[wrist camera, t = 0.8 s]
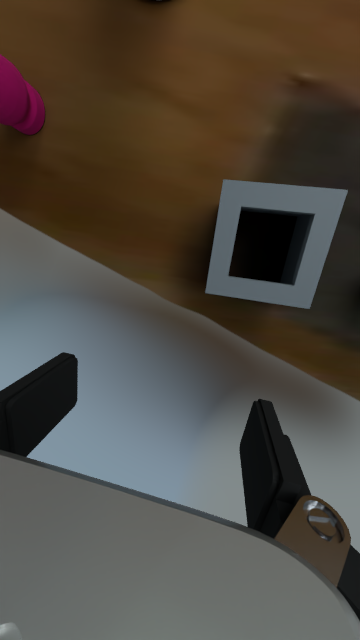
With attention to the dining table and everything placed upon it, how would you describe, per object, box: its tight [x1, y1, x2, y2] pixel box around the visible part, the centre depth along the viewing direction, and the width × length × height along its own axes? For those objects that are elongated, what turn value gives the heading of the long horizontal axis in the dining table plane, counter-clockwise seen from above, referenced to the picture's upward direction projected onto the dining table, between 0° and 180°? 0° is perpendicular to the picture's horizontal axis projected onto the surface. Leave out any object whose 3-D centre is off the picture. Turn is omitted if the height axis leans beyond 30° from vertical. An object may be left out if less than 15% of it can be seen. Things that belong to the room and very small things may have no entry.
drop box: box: [205, 180, 348, 309], centre depth 29 cm, size 12×12×11 cm
